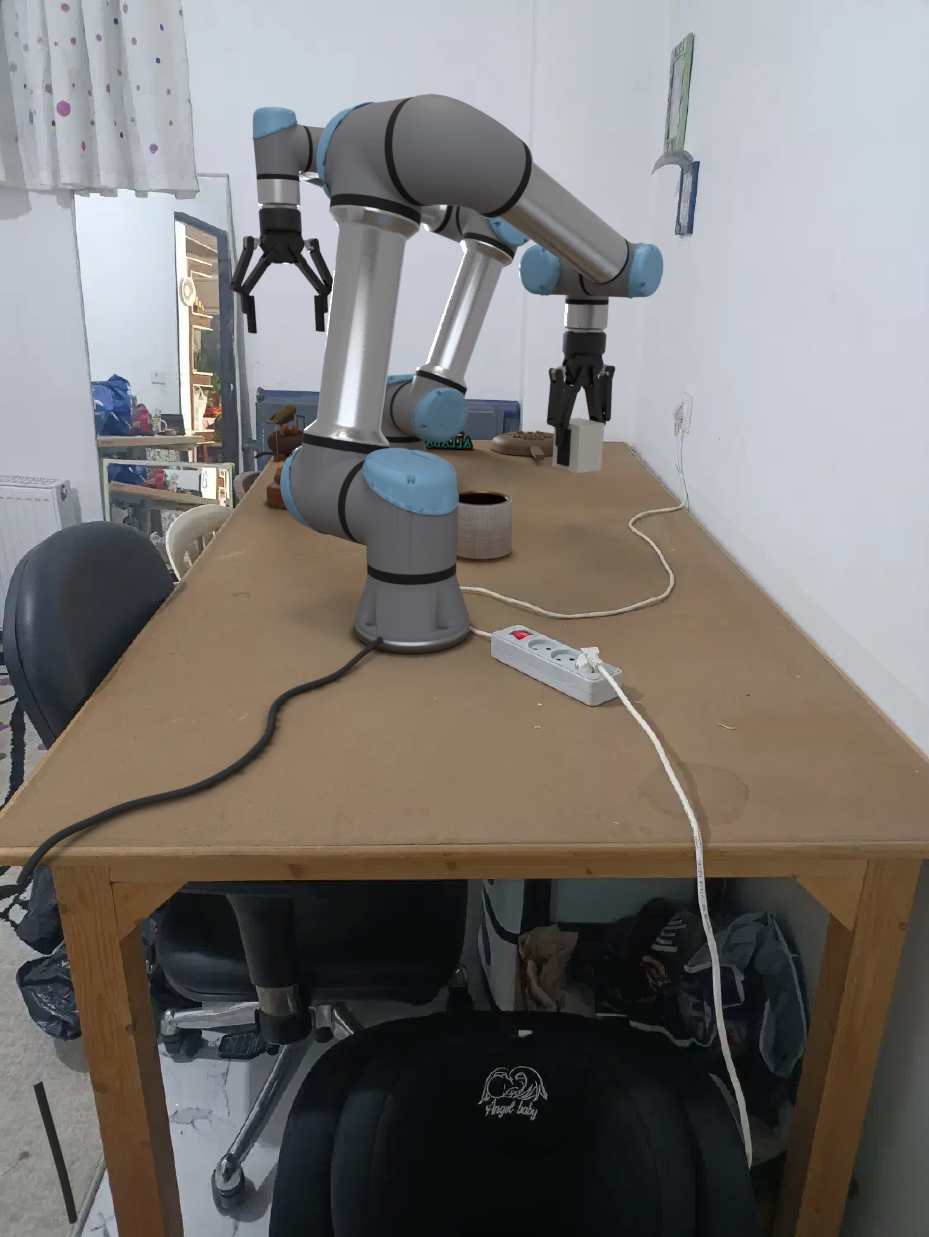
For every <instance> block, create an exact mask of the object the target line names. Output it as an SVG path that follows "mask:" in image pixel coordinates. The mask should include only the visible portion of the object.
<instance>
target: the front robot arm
mask: <svg viewBox="0 0 929 1237" xmlns="http://www.w3.org/2000/svg"><path fill="white" fill-rule="evenodd" d="M324 128H325V129H324V130H323V133H322V135H321V137H320V141H319V144H318V149H317V172H318V177H319V179H320V180H322V182H323V185H322V190H323V192H324V195H326V197H327V198H328V199H329V200H330V201H329V209H328V214H329V215H330V217H331V218H332V219H333V221H334V223H335V224H336V226H337V228H338V237H337V246H336V253H335V262H334V271H333V277H332V278H333V286H332V293H331V297H330V305H329V311H328V321H327V330H326V337H325V346H324V354H323V363H322V371H321V380H320V387H319V396H318V406H317V413H316V414H317V415H316V418H315V420H314V421H313V422H312V423H311V424H310V425H308V426H307V427H306V428H304V429H303V430H304V432H303V440H302V446H300V447H298V448H296V449H295V450H294V451H293V452H292V455H291V454H290V455H291V456H290V457H288V458H287V459H286V461H285V463H284V462H283V469H282V472H281V480H280V486H281V494H282V498H283V501H284V504H285V506H286V508H285V509H287V512H289V514H290V515H291V516H292V518H293V519H294V520H295V521H296V522H298V523H300V525H303V526H305V527H307V528H309V529H311V530H312V531H314V532H316V533H319V534H321V535H326V536H333V537H335V538H336V537H337V538H339V539H341V540H345V541H348V542H352V543H355V544H359V545H362V546H365V548H366V579H365V584H364V586H363V589H362V592H361V596H360V600H359V602H358V606H357V609H356V612H355V618H354V633H355V636H356V638H357V639H358V640H359V641H360V642H362V643H363V644H365V645H367V646H365V647H364V648H363V649H362V650H361V651H359V652H358V653H357V654H355V656H353V657H352V658H351V659H350V660H349V661H348V662H347V663H346V664H345V665H343V666H342V667H340V668H339V669H337V670H336V671H334V672H332V673H331V674H328V675H326V676H324V677H321V678H318V679H315V680H312V681H309V682H306V683H303V684H300V685H297V686H295V687H293V688H290V689H288V690H287V691H285V692H284V693H282V694H280V695H279V696H278V697H277V698H275V700H274V701H273V702H272V705H271V706H270V708H269V712H268V715H267V716H268V717H267V723H266V724H267V725H266V729H265V731H264V733H263V735H262V736H261V737H260V739H258V741H257V742H256V743H255V744H254V745H253V746H252V748H250V750H248V751H247V753H245V754H244V755H243V756H242V757H240V758H239V759H238V760H237V761H235V762H233V763H232V764H230V766H228V767H226V768H225V769H223V770H221V771H219V772H217V773H215V774H214V775H212V776H210V777H207V778H205V779H203V780H201V781H199V782H196V783H193V784H191V785H188V786H185V787H181V788H178V789H175V790H170V791H169V790H168V791H165V792H162V793H157V794H152V795H148V796H144V797H140V798H136V799H132V800H129V801H126V802H122V803H120V804H117V805H114V806H112V807H110V808H107V809H104V810H102V811H101V812H98V813H97V814H93V815H92V816H89V817H87V818H84V819H82V820H79V821H77V822H75V823H73V824H71V825H68V826H67V827H64V828H62V829H61V830H59V831H57V832H56V833H53V834H52V835H51V836H49V837H48V838H47V839H46V840H45V841H44V842H42V844H40V845H39V847H37V849H36V850H35V851H34V852H33V854H32V855H31V856H30V858H29V859H28V860H27V862H26V863H25V865H24V866H23V867H22V869H21V871H20V872H19V875H18V877H17V879H16V881H15V883H16V884H17V885H21V884H24V883H26V882H27V881H28V880H29V878H30V876H31V875H32V874H33V871H34V870H35V868H36V867H37V866H38V864H39V862H41V860H42V859H43V858H44V856H45V855H47V853H49V851H50V850H51V849H52V848H53V847H54V846H56V845H57V844H58V843H60V842H61V841H63V840H65V839H67V838H69V837H70V836H72V835H74V834H76V833H78V832H80V831H83V830H86V829H87V828H90V827H92V826H94V825H96V824H98V823H101V822H103V821H106V820H108V819H110V818H112V817H114V816H117V815H119V814H122V813H125V812H127V811H130V810H134V809H137V808H141V807H144V806H149V805H152V804H157V803H162V802H165V801H170V800H174V799H178V798H181V797H185V796H188V795H192V794H194V793H198V792H200V791H202V790H205V789H206V788H209V787H211V786H213V785H215V784H217V783H219V782H220V781H222V780H224V779H226V778H228V777H230V776H231V775H232V774H234V773H236V772H238V771H239V770H240V769H241V768H243V767H245V766H246V765H247V764H248V763H249V762H250V761H251V760H252V759H254V758H255V756H257V755H258V754H259V752H260V751H261V750H262V749H263V748H264V747H265V746H266V745H267V743H268V742H269V741H270V739H271V737H272V735H273V733H274V731H275V726H276V715H277V711H278V710H279V708H280V707H281V705H282V704H283V703H284V702H285V701H287V700H288V699H289V698H291V697H293V696H295V695H297V694H299V693H301V692H305V691H307V690H310V689H313V688H317V687H319V686H323V685H325V684H328V683H330V682H332V681H334V680H336V679H338V678H340V677H342V676H343V675H344V674H346V673H347V672H349V671H350V670H351V669H352V668H353V667H355V665H356V664H358V663H359V662H360V661H361V660H363V658H364V657H365V656H367V655H368V654H369V653H370V652H372V651H373V650H374V649H377V650H380V651H384V652H390V653H396V654H397V653H398V654H425V653H433V652H439V651H443V650H446V649H449V648H452V647H455V646H457V645H458V644H460V643H462V642H463V641H464V640H466V639H467V637H468V636H469V634H470V616H469V612H468V608H467V606H466V601H465V599H464V596H463V593H462V589H461V586H460V583H459V581H458V577H457V561H458V560H457V559H458V557H457V530H458V503H459V494H458V492H459V491H458V477H457V472H456V470H455V467H454V466H453V465H452V463H450V462H449V461H448V460H446V459H445V458H443V457H441V456H438V455H436V454H434V453H431V452H424V451H419V450H408V449H404V448H389V445H390V443H389V442H388V440H387V439H386V438H385V436H384V435H383V433H382V431H381V421H382V414H383V407H384V399H385V392H386V385H387V377H388V375H389V369H390V363H391V362H390V360H391V353H392V347H393V339H394V334H395V326H396V318H397V311H398V303H399V296H400V295H399V294H400V288H401V280H402V273H403V266H404V258H405V253H406V252H405V251H406V244H407V242H408V241H409V240H410V239H412V237H414V236H415V235H416V234H417V233H419V232H420V228H421V224H422V223H421V215H422V209H423V206H432V205H452V206H460V207H465V208H468V209H471V210H473V211H475V212H476V213H478V214H479V215H481V216H482V217H485V218H490V219H493V218H498V217H499V218H501V219H502V220H503V221H505V222H506V223H508V224H509V225H511V226H512V227H514V228H515V229H516V230H518V231H519V232H521V233H522V234H524V235H525V236H527V237H528V238H530V240H531V241H532V242H534V243H535V244H534V245H533V244H532V245H531V246H529V247H528V248H527V249H526V250H525V251H524V253H523V254H522V256H521V258H520V261H519V268H518V271H519V272H518V276H519V280H520V282H521V285H522V286H523V288H524V289H525V290H526V291H527V292H528V293H530V294H533V295H539V296H542V297H543V296H546V297H547V296H565V299H564V313H563V314H564V315H563V328H565V329H566V330H565V331H564V333H562V353H563V355H564V357H563V361H562V363H561V365H560V366H557V367H550V368H549V369H548V377H549V382H550V383H549V392H548V403H547V414H546V424H547V425H548V426H551V427H553V428H554V427H555V428H556V436H555V445H556V446H557V464H560V465H563V466H569V460H570V444H571V429H567V428H568V425H569V421H570V419H572V418H571V417H572V414H573V410H574V407H575V403H576V400H577V396H578V393H580V392H581V389H583V390H584V394H585V395H584V396H585V401H586V407H587V414H588V420H591V421H596V422H600V423H604V427H605V426H606V425H607V422H610V421H611V419H612V404H613V403H612V402H613V401H612V400H613V379H614V376H615V372H616V366H614V365H611V364H605V363H604V359H603V355H604V354H605V353H606V349H607V348H606V347H607V333H606V332H605V331H604V330H606V329H608V324H609V323H608V322H609V308H610V305H609V304H610V298H624V299H625V298H628V299H630V300H631V299H634V298H648V297H651V296H653V295H654V294H655V292H656V291H657V290H658V288H659V287H660V284H661V282H662V277H663V274H664V258H663V255H662V252H661V250H660V248H659V247H658V246H657V245H655V244H653V243H644V242H638V243H637V242H636V243H633V242H630V241H629V240H628V239H626V238H625V237H624V236H623V235H622V234H620V233H619V232H618V231H617V230H615V228H613V227H612V226H611V225H610V224H608V223H607V222H606V221H605V220H603V218H601V217H600V216H599V215H598V214H596V213H595V211H593V210H591V209H590V208H589V207H588V206H587V205H585V204H584V203H583V202H582V201H581V200H580V199H578V198H577V197H576V196H575V195H574V194H572V193H571V192H570V191H569V190H568V189H566V188H565V187H564V186H563V185H561V183H559V182H558V181H557V180H556V179H555V178H553V177H552V176H551V175H550V174H548V173H547V172H546V171H545V170H544V169H542V168H541V167H540V166H539V165H538V164H537V163H536V162H534V158H533V157H534V156H533V153H532V151H531V149H530V147H529V145H528V144H526V142H524V140H522V139H521V138H520V137H519V136H517V134H515V133H514V132H513V131H511V129H509V128H508V127H507V126H505V125H504V124H502V123H501V122H500V121H498V120H497V119H495V118H493V117H492V116H490V115H489V114H487V113H486V112H484V111H483V110H480V109H478V108H476V107H475V106H473V105H471V104H469V103H467V102H464V101H462V100H461V99H457V98H455V97H451V96H449V95H448V96H447V95H442V94H436V93H427V94H419V95H418V94H417V95H415V96H409V97H404V98H398V99H397V98H396V99H390V100H385V101H384V100H383V101H378V102H375V101H367V102H361V103H359V104H356V105H353V106H351V107H349V108H346V109H343V110H341V111H339V112H338V113H337V114H336V115H334V116H333V117H332V118H330V120H329V121H328V123H327V124H326V125H325V127H324ZM32 1086H33V1090H34V1094H35V1097H36V1101H37V1105H38V1109H39V1112H40V1115H41V1116H40V1117H41V1120H42V1123H43V1126H44V1129H45V1133H46V1137H47V1140H48V1144H49V1147H50V1150H51V1154H52V1157H53V1161H54V1165H55V1169H56V1173H57V1176H58V1180H59V1184H60V1188H61V1193H62V1197H63V1200H64V1205H65V1211H66V1215H67V1218H68V1223H69V1224H70V1225H73V1224H76V1222H78V1212H77V1209H76V1204H75V1199H74V1194H73V1189H72V1186H71V1182H70V1178H69V1174H68V1170H67V1166H66V1162H65V1159H64V1155H63V1151H62V1148H61V1144H60V1140H59V1136H58V1134H57V1128H56V1126H55V1123H54V1122H55V1121H54V1119H53V1115H52V1112H51V1108H50V1104H49V1101H48V1098H47V1097H48V1096H47V1093H46V1089H45V1086H44V1081H43V1080H42V1081H39V1082H37V1083H35V1084H34V1085H32Z"/></svg>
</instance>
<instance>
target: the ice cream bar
mask: <svg viewBox="0 0 929 1237" xmlns="http://www.w3.org/2000/svg"><path fill="white" fill-rule="evenodd" d="M491 443H492V444H491V450H493V451H495V452H498V453H500V454H504V455H511V456H512V455H513V456H532V457H533V458H534V459H535V460H538V461H539V460H540V461H541V460H545V456H553V445H554V432H553V433H552V432H548V431H547V432H546V431H540V430H536V431H535V432H534V431H524V430H519V431H509V432H505V433H500V434H498V435H497V434H496V435H495V436H494V437H493V438H492V441H491Z"/></svg>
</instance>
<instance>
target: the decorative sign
mask: <svg viewBox="0 0 929 1237" xmlns="http://www.w3.org/2000/svg"><path fill="white" fill-rule="evenodd" d="M425 445H426V448H427V449H429V448H430V449H438V450H439V449H442V450H443V449H445V448H446V449H447V450H449V449H450V450H455V449H456V450H467V449H468V450H473V449H474V443H473V441H472V438H471V435H470V434H467V435H466V432H465V431H463V430H462V431H461V432H460V433H459V434H458V435H457V436H456V437H454V438H453V439H451V440H449V441H446V442H428V441H425Z"/></svg>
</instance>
